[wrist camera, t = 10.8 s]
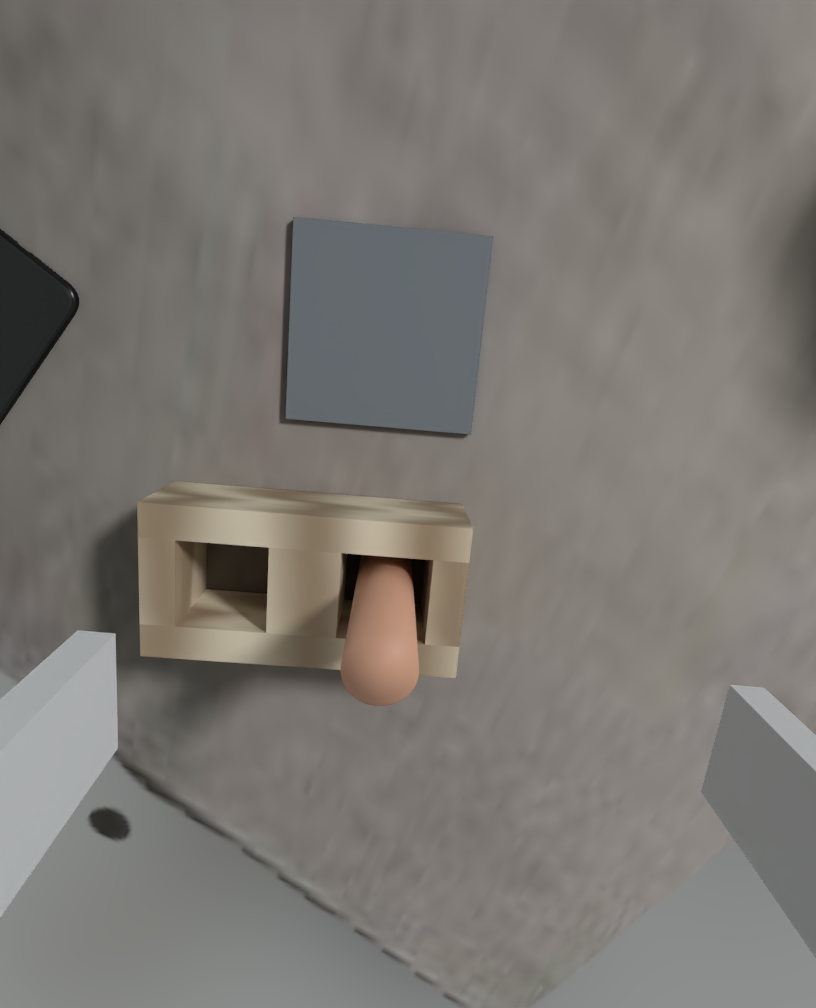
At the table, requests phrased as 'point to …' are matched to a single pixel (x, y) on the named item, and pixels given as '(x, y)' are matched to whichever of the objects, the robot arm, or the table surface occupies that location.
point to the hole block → (291, 573)
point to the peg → (381, 633)
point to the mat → (385, 325)
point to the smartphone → (28, 317)
